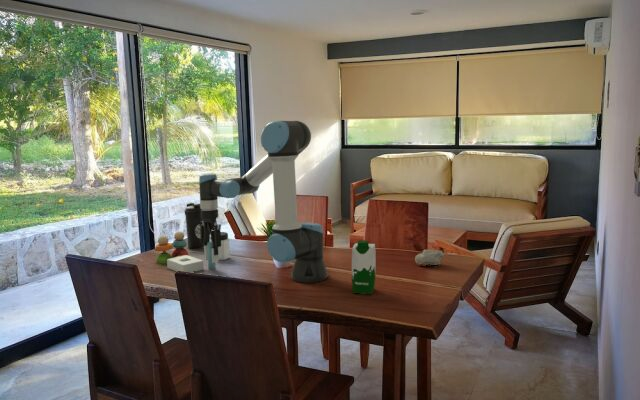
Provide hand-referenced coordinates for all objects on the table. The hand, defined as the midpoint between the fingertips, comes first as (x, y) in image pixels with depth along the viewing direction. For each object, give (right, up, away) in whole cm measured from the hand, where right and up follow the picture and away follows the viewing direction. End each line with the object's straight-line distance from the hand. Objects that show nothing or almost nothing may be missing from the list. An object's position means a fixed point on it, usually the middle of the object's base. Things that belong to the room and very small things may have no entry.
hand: (211, 260), depth 229 cm
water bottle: (-17, +2, +41) cm, 45 cm away
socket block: (-12, -4, +1) cm, 13 cm away
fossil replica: (+97, -3, +2) cm, 97 cm away
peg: (0, -4, +1) cm, 4 cm away
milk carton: (+65, -8, -32) cm, 73 cm away
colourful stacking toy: (-20, -2, +18) cm, 27 cm away
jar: (0, -1, +19) cm, 19 cm away
